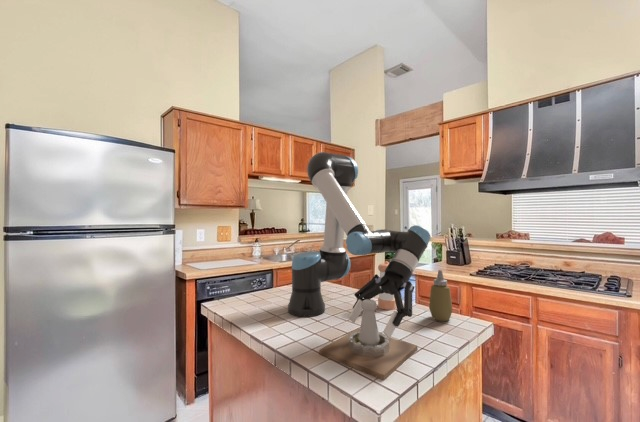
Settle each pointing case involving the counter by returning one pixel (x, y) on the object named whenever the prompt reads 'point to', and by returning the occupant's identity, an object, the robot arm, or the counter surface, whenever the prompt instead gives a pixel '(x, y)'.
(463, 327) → the counter surface
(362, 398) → the counter surface
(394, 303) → the pepper shaker
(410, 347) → the collar board
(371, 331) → the salt shaker
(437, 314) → the squeeze bottle
